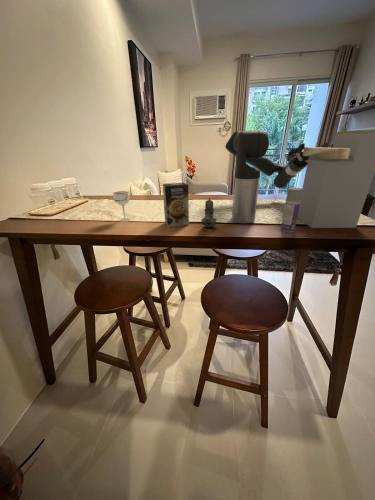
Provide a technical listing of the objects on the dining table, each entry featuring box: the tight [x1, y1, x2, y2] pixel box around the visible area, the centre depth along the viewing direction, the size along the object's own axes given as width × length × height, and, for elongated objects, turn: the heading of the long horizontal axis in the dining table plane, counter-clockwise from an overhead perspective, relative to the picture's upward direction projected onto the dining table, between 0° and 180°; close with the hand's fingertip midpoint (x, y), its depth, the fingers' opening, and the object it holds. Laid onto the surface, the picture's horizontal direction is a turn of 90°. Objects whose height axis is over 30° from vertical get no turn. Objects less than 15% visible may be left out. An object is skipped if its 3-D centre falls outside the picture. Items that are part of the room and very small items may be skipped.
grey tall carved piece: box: [201, 197, 218, 232], centre depth 80 cm, size 6×6×12 cm
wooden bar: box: [302, 146, 351, 159], centre depth 78 cm, size 4×24×3 cm, turn 177°
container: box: [280, 187, 303, 233], centre depth 76 cm, size 5×5×15 cm
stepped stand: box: [297, 128, 375, 229], centre depth 79 cm, size 16×14×32 cm
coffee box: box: [162, 182, 190, 228], centre depth 85 cm, size 9×6×16 cm
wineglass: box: [112, 190, 131, 223], centre depth 93 cm, size 7×7×12 cm
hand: (315, 144), depth 83 cm, fingers open, 8 cm apart
